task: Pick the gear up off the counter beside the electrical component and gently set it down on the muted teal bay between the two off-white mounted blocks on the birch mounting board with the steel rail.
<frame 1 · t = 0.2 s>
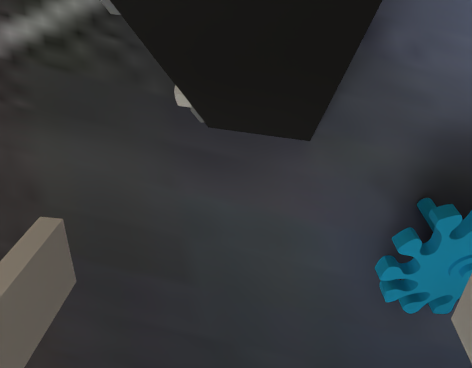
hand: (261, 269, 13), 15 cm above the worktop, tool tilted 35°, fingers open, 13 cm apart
electrical component: (266, 15, 30), on the worktop
gear: (442, 251, 27), on the worktop
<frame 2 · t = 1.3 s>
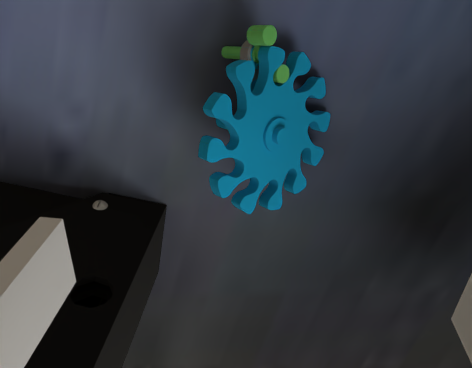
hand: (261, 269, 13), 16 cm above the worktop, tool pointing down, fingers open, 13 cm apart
electrical component: (61, 223, 34), on the worktop
gear: (271, 103, 27), on the worktop
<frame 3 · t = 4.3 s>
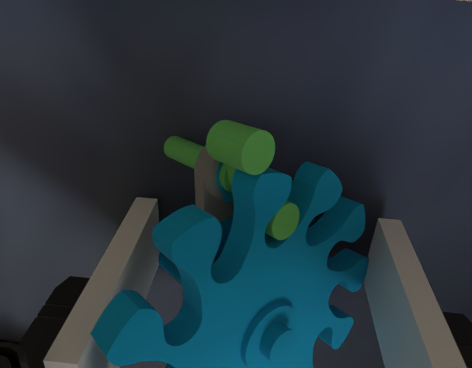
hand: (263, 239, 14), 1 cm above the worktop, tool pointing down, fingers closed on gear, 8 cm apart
gear: (259, 229, 15), on the worktop, touching gripper
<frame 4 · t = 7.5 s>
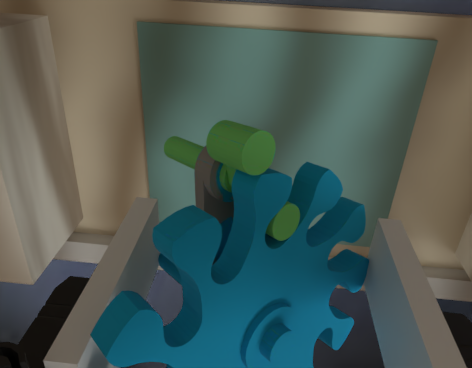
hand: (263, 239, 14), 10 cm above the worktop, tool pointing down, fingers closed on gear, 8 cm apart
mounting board: (271, 153, 23), on the worktop
gear: (259, 229, 15), point 9 cm above the worktop, touching gripper
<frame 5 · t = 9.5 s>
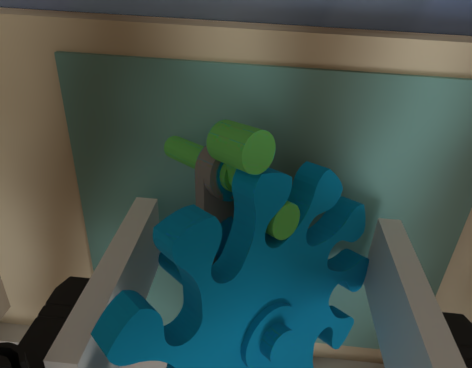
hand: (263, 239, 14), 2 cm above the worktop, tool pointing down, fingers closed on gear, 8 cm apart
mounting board: (263, 228, 17), on the worktop
gear: (259, 229, 15), point 2 cm above the worktop, touching gripper
when the fingers open (2 cm above the worktop, at t = 10.8 s): gear stays where it is, resting on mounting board.
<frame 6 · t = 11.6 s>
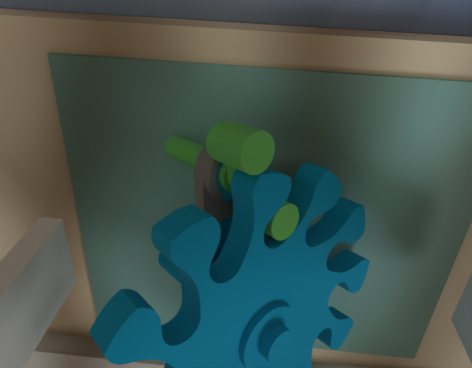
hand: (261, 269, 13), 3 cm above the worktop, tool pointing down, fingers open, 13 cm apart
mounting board: (262, 232, 17), on the worktop
gear: (259, 229, 15), point 1 cm above the worktop, touching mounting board
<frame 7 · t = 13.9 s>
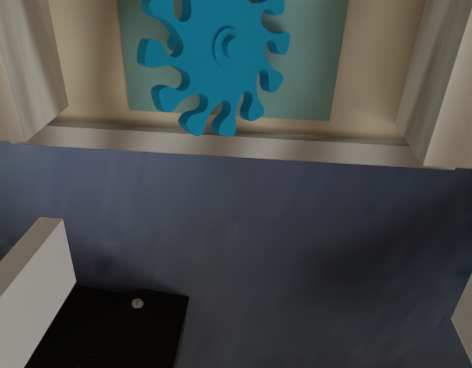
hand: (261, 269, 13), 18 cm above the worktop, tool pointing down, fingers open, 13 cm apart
electrical component: (102, 309, 42), on the worktop
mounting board: (231, 36, 27), on the worktop
gear: (227, 23, 25), point 1 cm above the worktop, touching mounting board
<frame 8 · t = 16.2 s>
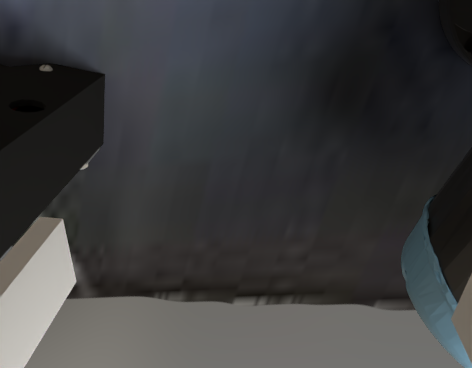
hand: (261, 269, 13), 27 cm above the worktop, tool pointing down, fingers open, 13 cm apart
electrical component: (18, 98, 40), on the worktop
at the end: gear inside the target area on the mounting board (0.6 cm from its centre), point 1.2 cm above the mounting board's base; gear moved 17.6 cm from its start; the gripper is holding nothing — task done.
